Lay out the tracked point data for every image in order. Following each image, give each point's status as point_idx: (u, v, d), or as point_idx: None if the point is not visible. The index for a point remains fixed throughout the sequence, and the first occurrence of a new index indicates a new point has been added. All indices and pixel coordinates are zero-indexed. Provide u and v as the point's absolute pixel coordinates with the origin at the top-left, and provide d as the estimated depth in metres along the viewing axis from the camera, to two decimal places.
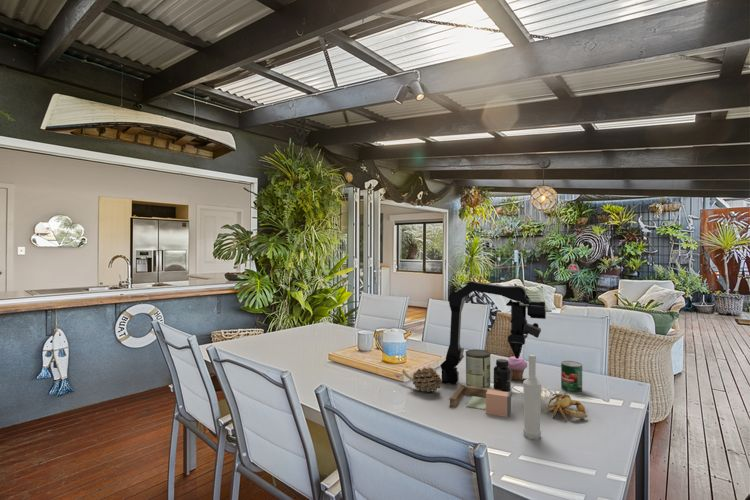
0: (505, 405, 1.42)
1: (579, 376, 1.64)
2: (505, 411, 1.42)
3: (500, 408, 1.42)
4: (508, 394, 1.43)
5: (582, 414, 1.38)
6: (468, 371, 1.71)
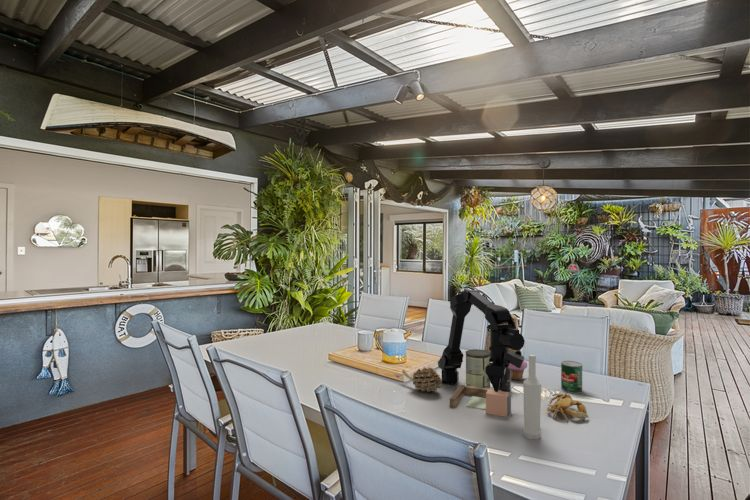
0: (505, 405, 1.42)
1: (579, 376, 1.64)
2: (505, 411, 1.42)
3: (500, 408, 1.42)
4: (508, 394, 1.43)
5: (583, 414, 1.38)
6: (468, 371, 1.71)
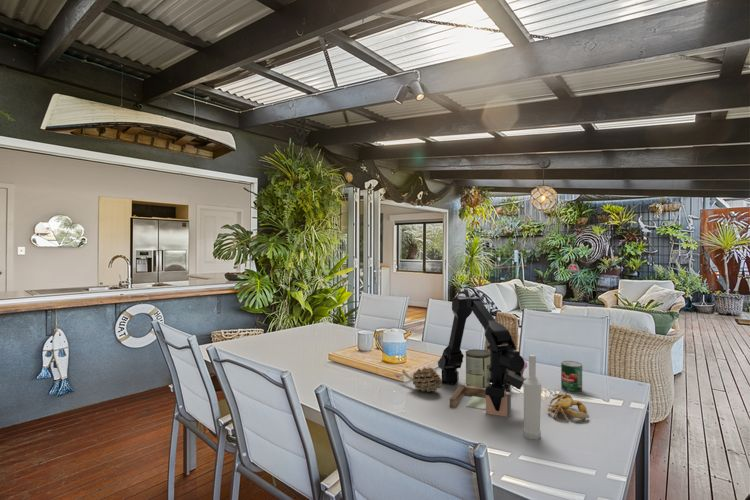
0: (505, 405, 1.42)
1: (579, 376, 1.64)
2: (505, 411, 1.42)
3: (500, 407, 1.42)
4: (508, 394, 1.43)
5: (583, 414, 1.37)
6: (468, 371, 1.71)
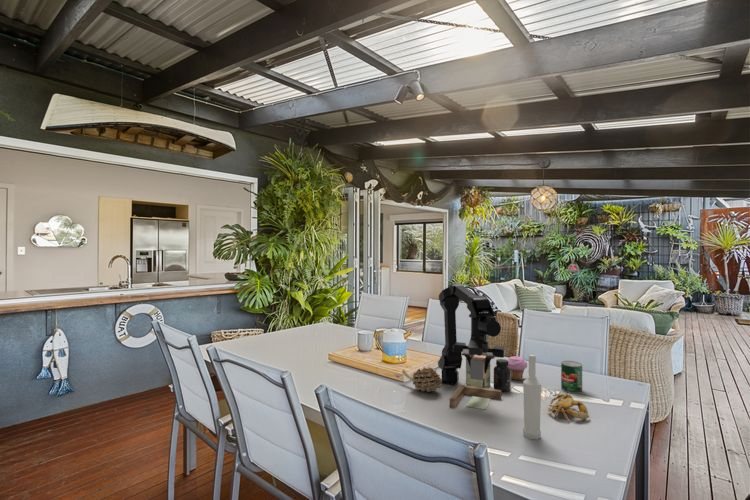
0: None
1: (579, 376, 1.64)
2: None
3: None
4: (477, 360, 1.50)
5: (584, 414, 1.37)
6: (468, 371, 1.71)
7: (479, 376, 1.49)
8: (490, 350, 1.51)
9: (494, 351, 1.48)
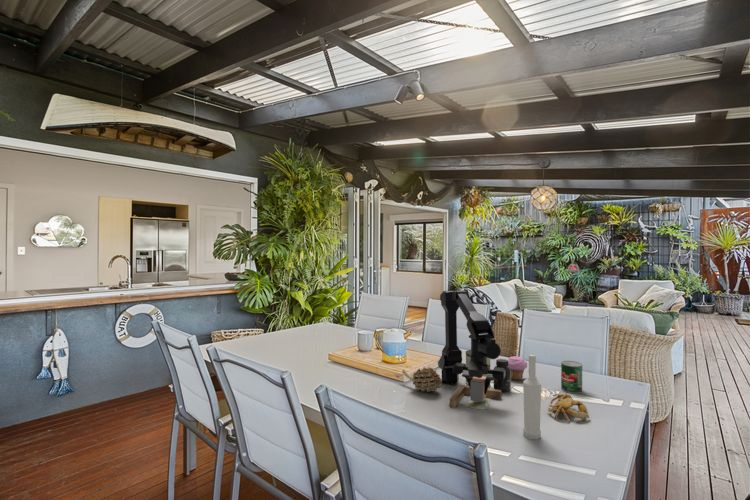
0: None
1: (579, 376, 1.64)
2: None
3: None
4: (476, 381, 1.50)
5: (584, 414, 1.37)
6: None
7: (479, 398, 1.49)
8: (490, 371, 1.51)
9: (494, 373, 1.48)
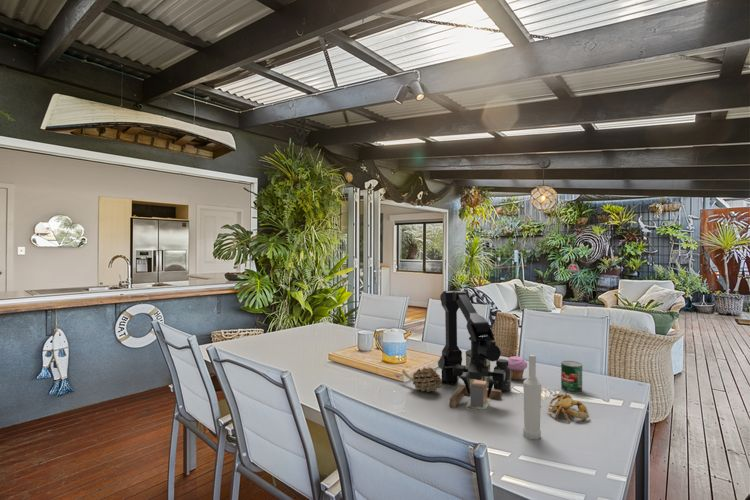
0: None
1: (579, 376, 1.64)
2: None
3: None
4: (476, 386, 1.50)
5: (584, 414, 1.37)
6: None
7: (479, 403, 1.49)
8: None
9: (494, 375, 1.48)
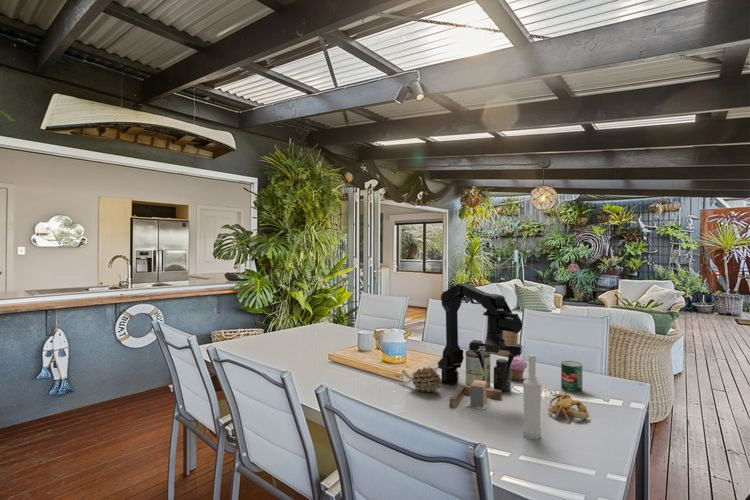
0: None
1: (579, 376, 1.64)
2: None
3: None
4: (476, 386, 1.50)
5: (585, 414, 1.37)
6: (468, 371, 1.71)
7: (479, 403, 1.49)
8: None
9: (511, 348, 1.49)
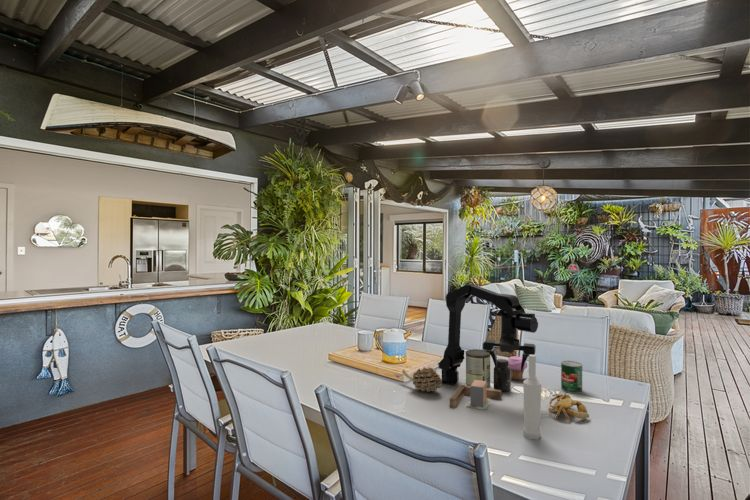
0: None
1: (579, 376, 1.64)
2: None
3: None
4: (476, 386, 1.50)
5: (585, 414, 1.37)
6: (468, 371, 1.71)
7: (479, 403, 1.49)
8: None
9: (525, 348, 1.50)
